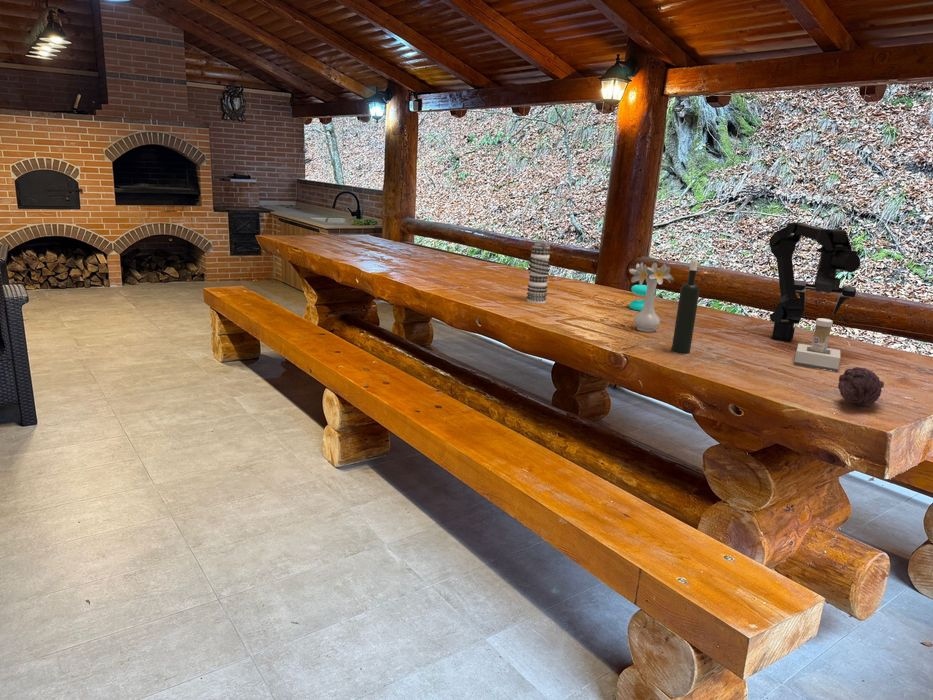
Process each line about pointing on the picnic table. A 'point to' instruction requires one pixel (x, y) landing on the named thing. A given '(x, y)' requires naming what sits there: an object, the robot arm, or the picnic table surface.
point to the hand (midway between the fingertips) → (818, 313)
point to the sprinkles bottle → (821, 335)
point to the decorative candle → (538, 273)
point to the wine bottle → (686, 313)
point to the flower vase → (649, 294)
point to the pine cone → (860, 386)
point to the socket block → (817, 358)
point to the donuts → (639, 291)
